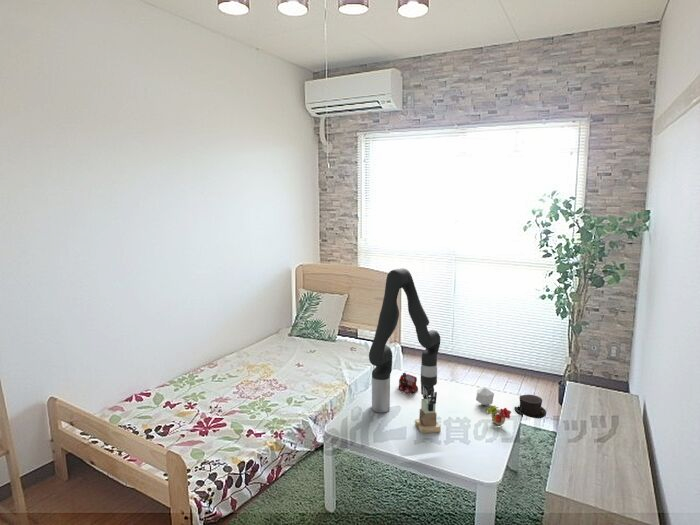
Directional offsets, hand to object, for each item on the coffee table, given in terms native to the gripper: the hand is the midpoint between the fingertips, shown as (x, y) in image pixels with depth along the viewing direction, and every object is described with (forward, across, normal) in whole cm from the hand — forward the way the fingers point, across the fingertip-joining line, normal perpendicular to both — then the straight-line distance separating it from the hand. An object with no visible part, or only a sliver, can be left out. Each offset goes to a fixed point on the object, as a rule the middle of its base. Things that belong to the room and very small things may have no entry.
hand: (428, 407), depth 212 cm
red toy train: (+10, +42, -5) cm, 43 cm away
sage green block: (+2, 0, 0) cm, 2 cm away
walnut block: (+8, 0, 0) cm, 8 cm away
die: (+10, +16, -38) cm, 42 cm away
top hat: (+11, +5, -57) cm, 58 cm away
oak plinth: (+10, 0, 0) cm, 10 cm away
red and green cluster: (+10, -4, -35) cm, 36 cm away
